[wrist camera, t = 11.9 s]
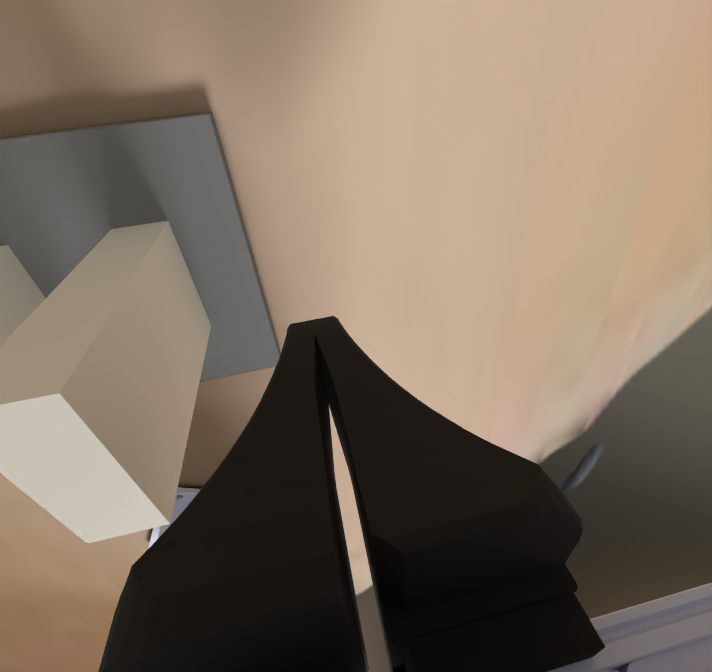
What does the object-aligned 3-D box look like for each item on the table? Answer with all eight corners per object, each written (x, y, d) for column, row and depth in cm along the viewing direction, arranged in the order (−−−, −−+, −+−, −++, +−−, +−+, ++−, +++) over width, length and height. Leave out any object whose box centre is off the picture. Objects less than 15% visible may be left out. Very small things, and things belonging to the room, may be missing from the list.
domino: (168, 220, 13) (59, 393, 6) (211, 325, 16) (170, 523, 9) (111, 229, 13) (-67, 418, 6) (165, 333, 16) (87, 543, 9)
